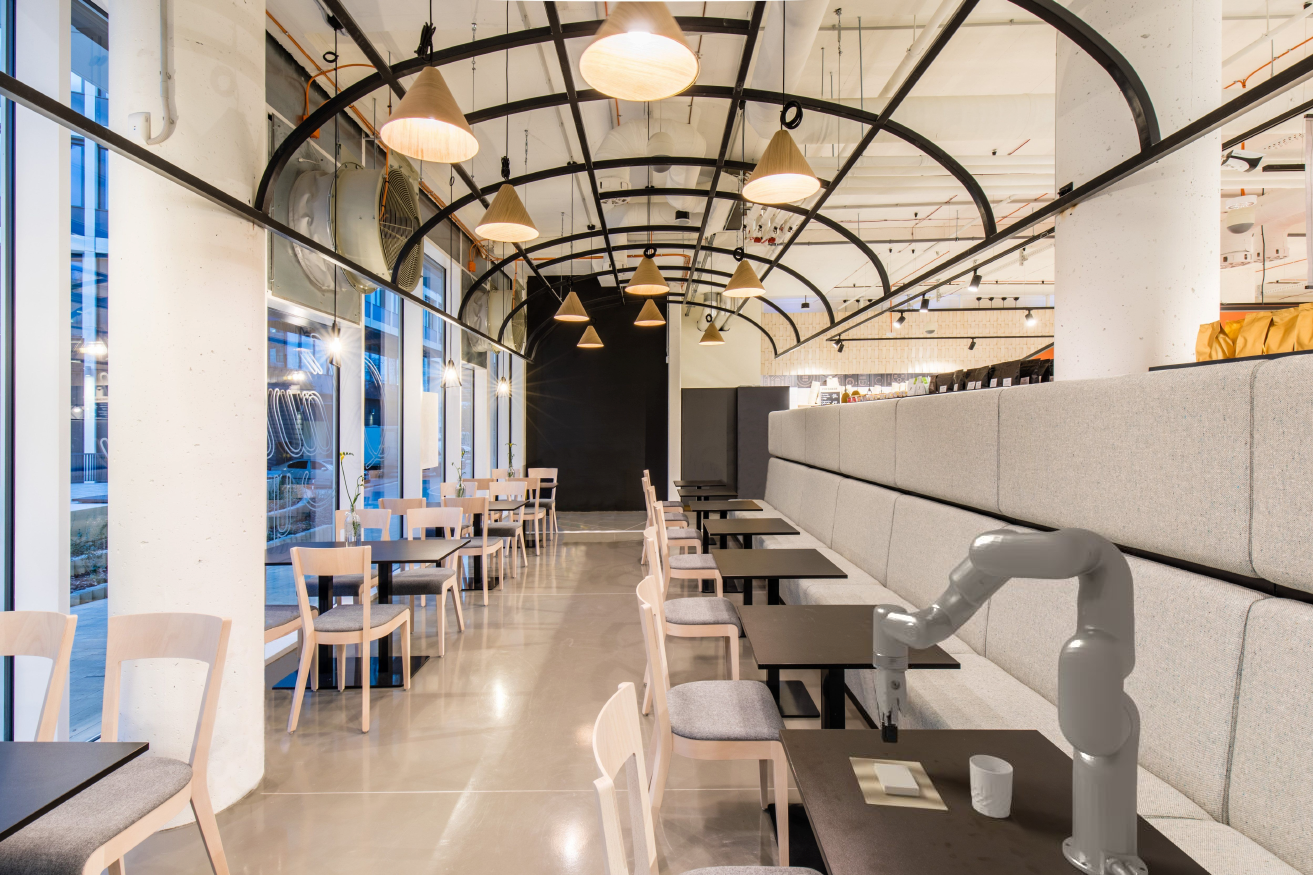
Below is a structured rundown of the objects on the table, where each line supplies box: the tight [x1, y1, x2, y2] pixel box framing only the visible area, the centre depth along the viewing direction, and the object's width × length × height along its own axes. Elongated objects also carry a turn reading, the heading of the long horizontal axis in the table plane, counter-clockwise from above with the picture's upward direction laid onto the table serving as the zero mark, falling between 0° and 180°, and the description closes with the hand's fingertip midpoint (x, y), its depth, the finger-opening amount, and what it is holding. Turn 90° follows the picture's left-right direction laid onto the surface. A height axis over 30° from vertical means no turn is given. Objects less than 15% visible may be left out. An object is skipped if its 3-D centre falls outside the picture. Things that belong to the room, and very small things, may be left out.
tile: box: [874, 763, 919, 797], centre depth 139 cm, size 2×7×10 cm
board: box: [849, 756, 949, 811], centre depth 140 cm, size 20×16×1 cm
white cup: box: [969, 754, 1014, 819], centre depth 130 cm, size 8×8×10 cm
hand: (889, 740), depth 145 cm, fingers closed
